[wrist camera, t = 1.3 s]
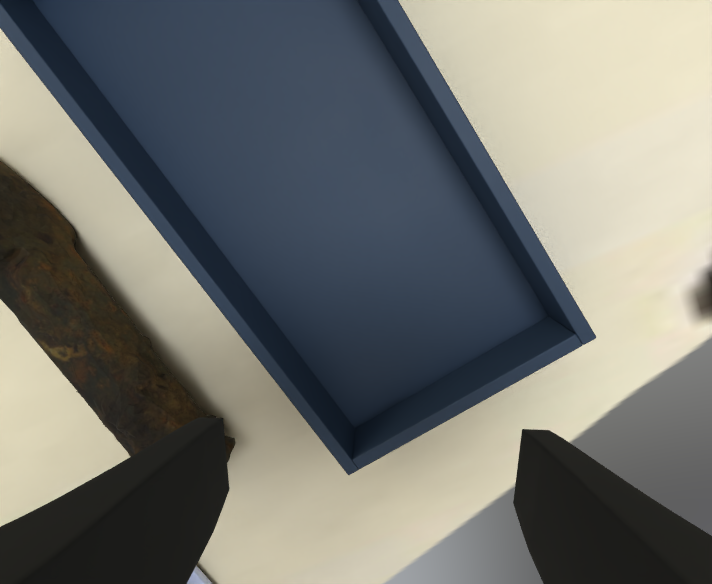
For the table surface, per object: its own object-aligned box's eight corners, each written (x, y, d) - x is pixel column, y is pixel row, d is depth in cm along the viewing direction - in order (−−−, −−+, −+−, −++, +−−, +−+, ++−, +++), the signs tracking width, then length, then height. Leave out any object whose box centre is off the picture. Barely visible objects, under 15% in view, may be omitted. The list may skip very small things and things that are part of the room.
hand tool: (250, 437, 20) (213, 502, 16) (192, 466, 21) (141, 537, 16) (29, 115, 17) (-96, 82, 13) (-32, 160, 18) (-171, 145, 13)
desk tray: (352, 436, 20) (348, 475, 17) (21, -1, 16) (-59, -47, 13) (561, 316, 18) (597, 338, 15) (237, -223, 14) (199, -337, 11)
